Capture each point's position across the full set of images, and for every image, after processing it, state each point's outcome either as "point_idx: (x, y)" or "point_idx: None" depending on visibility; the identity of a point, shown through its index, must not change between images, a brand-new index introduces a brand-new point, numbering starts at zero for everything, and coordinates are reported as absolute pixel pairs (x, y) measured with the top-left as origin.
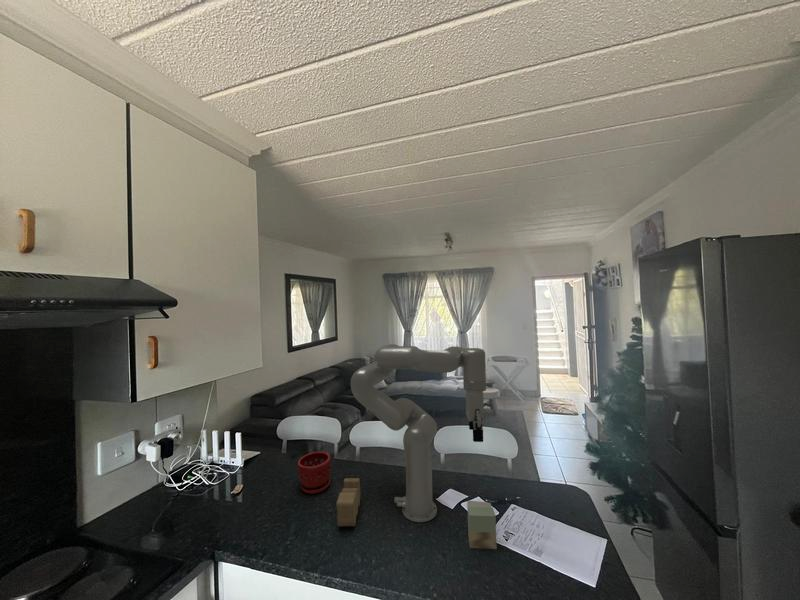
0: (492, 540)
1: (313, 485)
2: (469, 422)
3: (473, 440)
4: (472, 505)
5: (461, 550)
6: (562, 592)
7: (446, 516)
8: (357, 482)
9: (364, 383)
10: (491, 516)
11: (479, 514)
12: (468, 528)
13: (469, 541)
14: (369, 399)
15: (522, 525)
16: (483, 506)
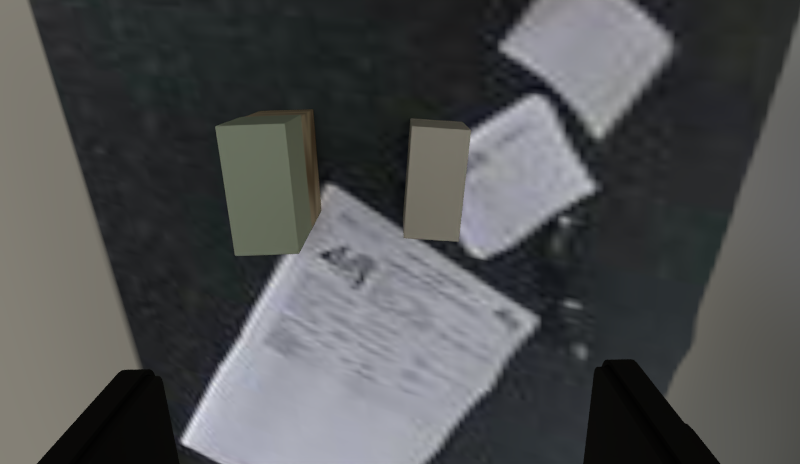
0: None
1: None
2: (669, 444)
3: (116, 377)
4: (431, 152)
5: (240, 73)
6: (140, 361)
7: (441, 14)
8: None
9: None
10: (233, 236)
11: (233, 180)
12: (293, 114)
13: (275, 111)
14: None
15: (407, 327)
16: (427, 204)
